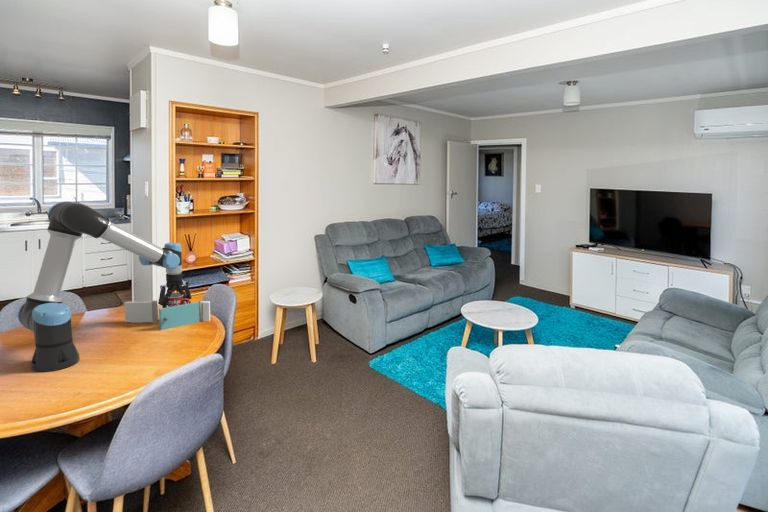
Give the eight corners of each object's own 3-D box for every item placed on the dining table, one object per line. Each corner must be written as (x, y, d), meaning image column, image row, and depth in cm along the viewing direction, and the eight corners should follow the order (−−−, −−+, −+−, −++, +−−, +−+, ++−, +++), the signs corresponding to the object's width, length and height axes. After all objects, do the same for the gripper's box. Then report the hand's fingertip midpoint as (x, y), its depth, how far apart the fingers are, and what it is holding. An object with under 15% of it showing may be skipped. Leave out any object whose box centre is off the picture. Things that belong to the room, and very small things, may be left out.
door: (200, 322, 224) (200, 303, 222) (162, 331, 209) (161, 310, 208) (197, 321, 226) (197, 302, 224) (159, 329, 212) (158, 308, 210)
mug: (160, 322, 217) (161, 296, 215) (167, 316, 226) (168, 292, 224) (186, 323, 219) (187, 298, 217) (192, 318, 228) (193, 293, 225)
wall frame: (209, 321, 226) (208, 301, 224) (125, 322, 219) (124, 301, 218) (210, 320, 228) (209, 300, 226) (127, 321, 221) (126, 300, 220)
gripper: (190, 268, 229) (191, 309, 233) (148, 275, 211) (150, 318, 215) (198, 270, 225) (199, 311, 229) (156, 277, 207) (158, 321, 211)
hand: (175, 315), depth 222 cm, fingers closed on mug, 9 cm apart
